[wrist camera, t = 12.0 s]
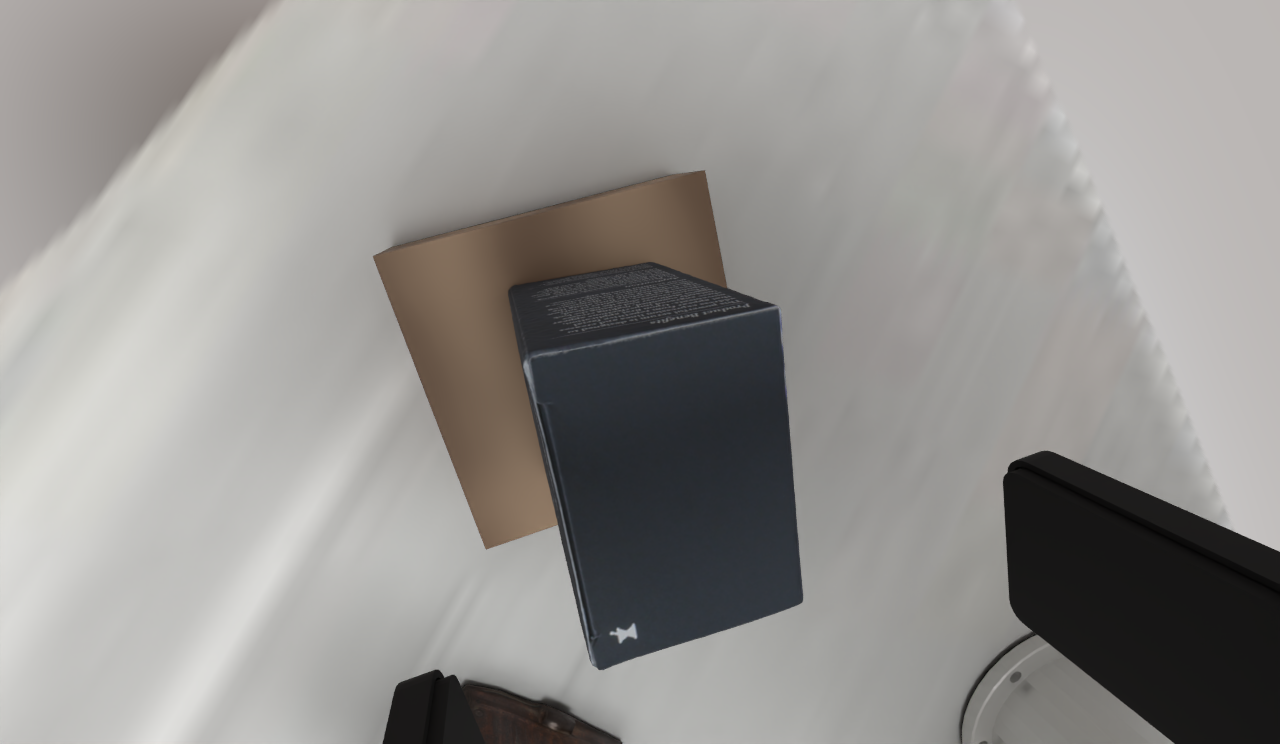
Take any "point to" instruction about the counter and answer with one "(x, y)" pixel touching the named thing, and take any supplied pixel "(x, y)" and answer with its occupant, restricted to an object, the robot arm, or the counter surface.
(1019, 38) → the counter surface
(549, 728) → the antique coffee grinder
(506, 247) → the base
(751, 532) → the box
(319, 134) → the counter surface
